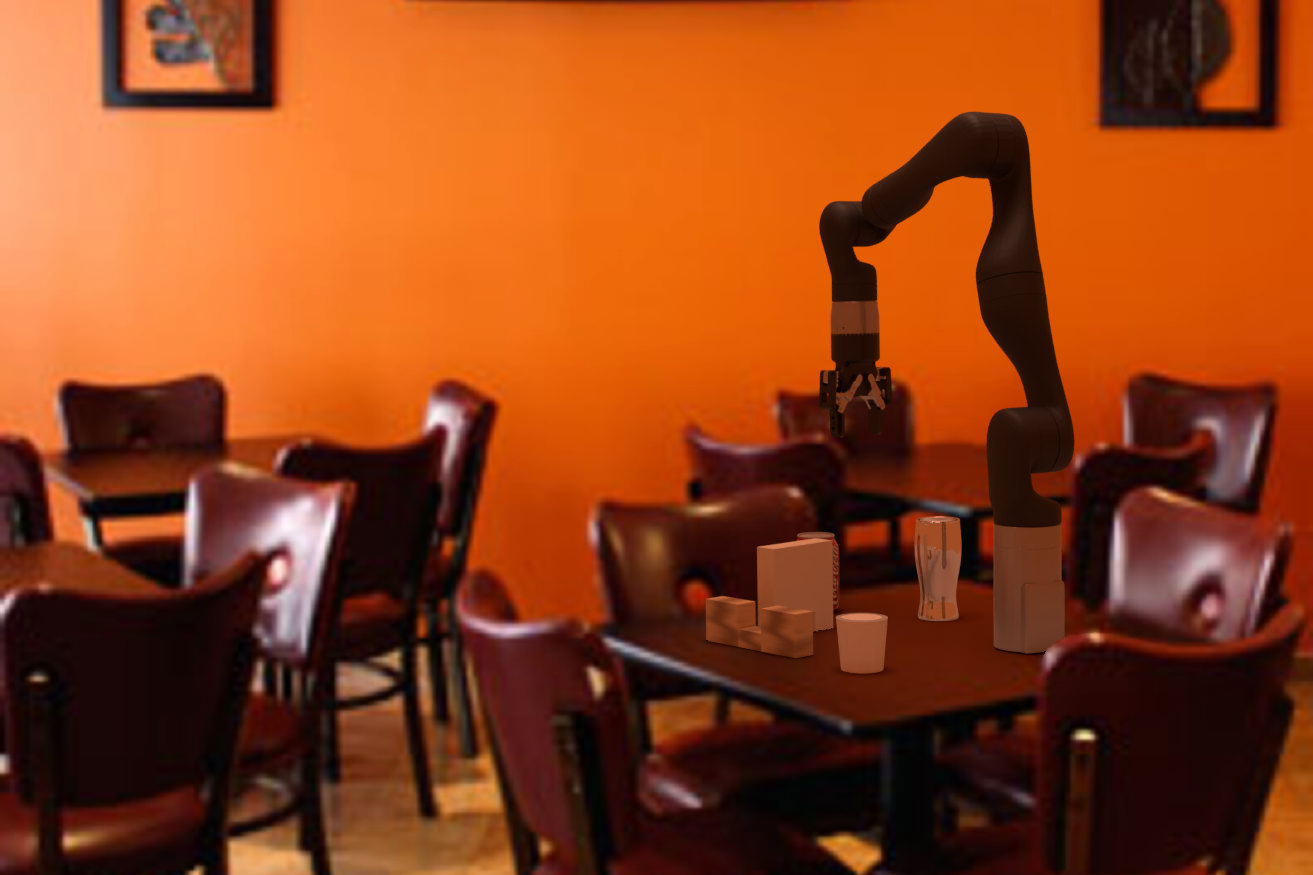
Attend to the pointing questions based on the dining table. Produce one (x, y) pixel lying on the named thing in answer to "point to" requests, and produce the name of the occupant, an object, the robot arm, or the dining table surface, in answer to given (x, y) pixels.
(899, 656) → the dining table surface
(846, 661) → the shot glass
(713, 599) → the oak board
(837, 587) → the soda can
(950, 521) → the beer glass
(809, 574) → the plain rectangular block
